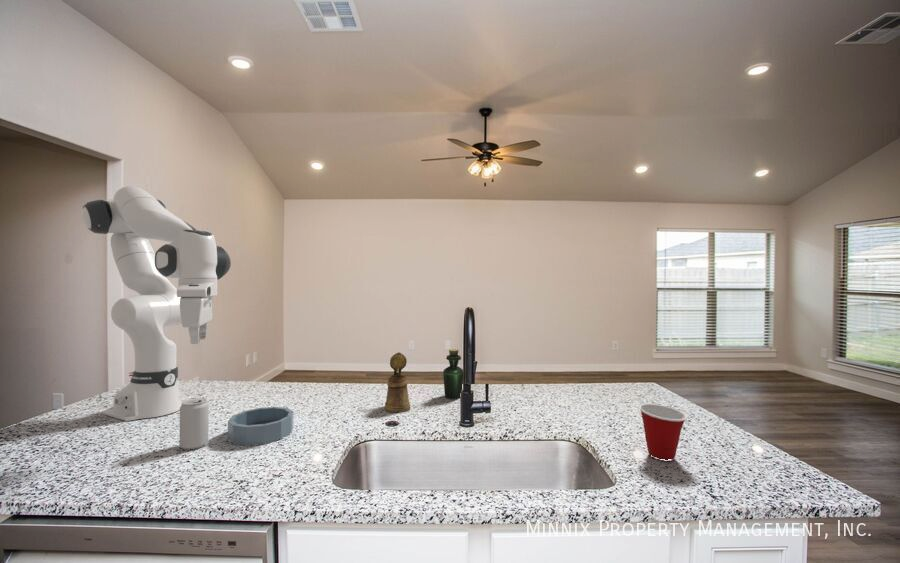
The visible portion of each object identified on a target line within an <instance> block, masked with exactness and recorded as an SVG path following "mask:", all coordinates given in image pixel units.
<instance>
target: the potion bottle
mask: <svg viewBox="0 0 900 563" xmlns="http://www.w3.org/2000/svg"><path fill="white" fill-rule="evenodd" d="M459 351H460V350H459V349H457V348H450V349H448V353H449V355H446V358H445V359H446V360H448V363H449V364H448V365H449V366H447V367H446V368H444V369H443V371H442V376H443V388H444V398H447V399H449V398H450V399H451V400H456V399H455V398H458V399H460V393H461V390H462V391H463V389H462V384H463V385H464V379H463V371H464V369H463V368H462V367H460V366H458V365H459V362H460V360H462V356H461V355H459Z"/></svg>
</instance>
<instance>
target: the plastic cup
mask: <svg viewBox="0 0 900 563" xmlns="http://www.w3.org/2000/svg"><path fill="white" fill-rule="evenodd" d="M638 407H639V411H640V413H641V418H642V423H643V430H644V436H645V441H646V448H647V452H648V455H649V454H650V455H652V456H654V457H657V458H659V459H665V460H668V459H674V460H675V458H676V454H677V449H678V446H679V442H680V437H681V432H682V428H683V425H684V423H685V421H686V420H687V419H688V416H687V414H686V413H684V412H682V411H681V410H678V409H675V408H672V407H669V406H666V405H660V404H654V403H645V404H640V405H639V406H638Z"/></svg>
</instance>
